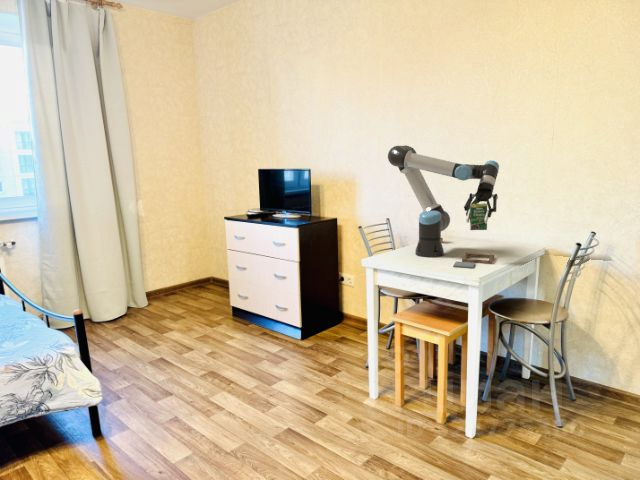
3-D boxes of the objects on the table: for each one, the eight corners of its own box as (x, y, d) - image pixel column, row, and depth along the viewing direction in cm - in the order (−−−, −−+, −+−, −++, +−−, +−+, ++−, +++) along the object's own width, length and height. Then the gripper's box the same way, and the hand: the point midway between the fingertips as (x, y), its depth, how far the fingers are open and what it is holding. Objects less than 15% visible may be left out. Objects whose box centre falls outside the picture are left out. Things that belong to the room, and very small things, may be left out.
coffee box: (470, 230, 220) (470, 204, 218) (469, 229, 223) (469, 203, 220) (487, 230, 219) (487, 203, 216) (485, 229, 221) (486, 203, 219)
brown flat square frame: (461, 262, 223) (462, 259, 222) (465, 255, 236) (465, 253, 236) (491, 264, 217) (491, 261, 216) (493, 257, 230) (494, 254, 230)
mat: (453, 267, 213) (453, 265, 213) (455, 263, 221) (456, 261, 221) (472, 268, 209) (472, 266, 209) (474, 264, 217) (474, 262, 217)
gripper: (508, 191, 224) (499, 227, 214) (467, 191, 236) (456, 224, 226) (506, 181, 219) (497, 217, 209) (464, 181, 231) (453, 215, 221)
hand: (476, 221), depth 217 cm, fingers closed on coffee box, 8 cm apart
